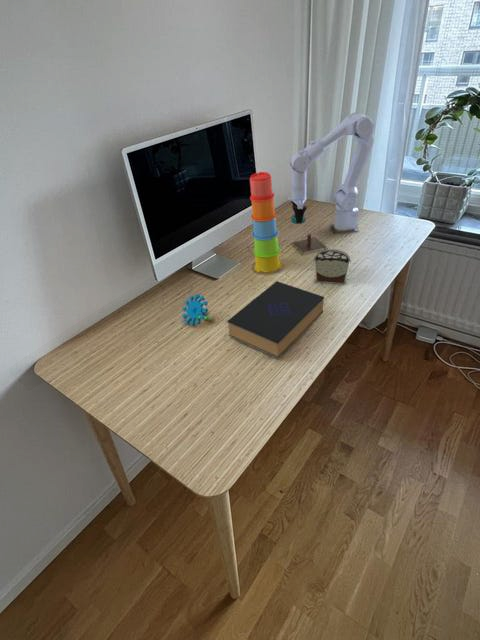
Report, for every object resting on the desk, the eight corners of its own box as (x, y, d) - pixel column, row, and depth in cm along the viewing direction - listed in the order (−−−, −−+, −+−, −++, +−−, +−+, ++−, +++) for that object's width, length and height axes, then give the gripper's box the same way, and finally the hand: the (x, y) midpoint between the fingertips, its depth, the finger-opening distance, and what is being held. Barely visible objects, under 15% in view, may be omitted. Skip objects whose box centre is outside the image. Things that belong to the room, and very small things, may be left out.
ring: (304, 217, 161) (304, 213, 160) (305, 223, 156) (306, 218, 155) (290, 218, 161) (290, 214, 160) (291, 224, 157) (291, 219, 156)
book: (229, 338, 112) (227, 320, 108) (276, 297, 127) (276, 280, 123) (278, 361, 103) (277, 342, 99) (323, 314, 118) (324, 296, 114)
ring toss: (314, 239, 159) (315, 227, 156) (326, 249, 151) (326, 237, 148) (292, 244, 157) (292, 232, 154) (303, 254, 149) (303, 242, 146)
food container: (349, 275, 135) (352, 249, 129) (348, 284, 130) (351, 258, 124) (314, 272, 138) (315, 247, 132) (312, 281, 133) (313, 256, 127)
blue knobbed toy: (175, 313, 122) (192, 287, 120) (187, 317, 126) (203, 292, 125) (195, 333, 115) (212, 306, 114) (207, 336, 120) (224, 310, 119)
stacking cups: (282, 273, 139) (281, 177, 118) (254, 275, 140) (248, 180, 119) (280, 259, 147) (278, 167, 126) (253, 261, 148) (247, 170, 127)
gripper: (287, 181, 156) (287, 213, 164) (290, 193, 145) (289, 227, 153) (304, 180, 156) (304, 212, 164) (308, 192, 144) (307, 226, 152)
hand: (298, 219), depth 158 cm, fingers closed on ring, 5 cm apart
